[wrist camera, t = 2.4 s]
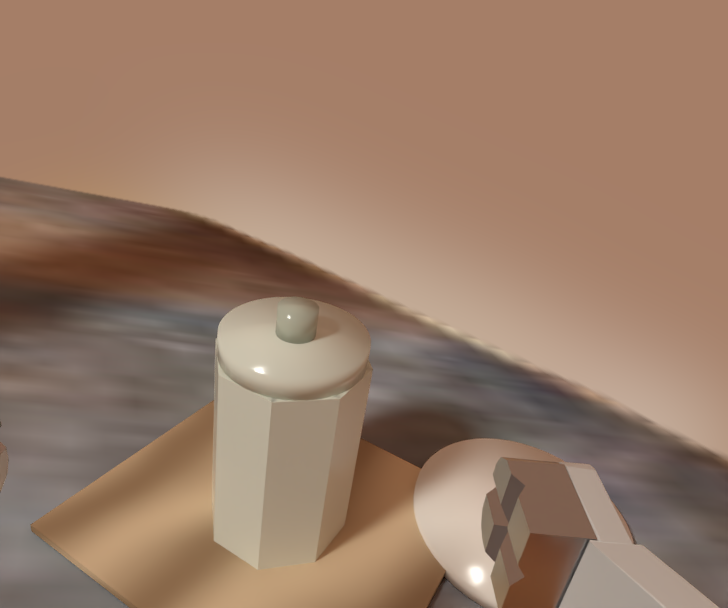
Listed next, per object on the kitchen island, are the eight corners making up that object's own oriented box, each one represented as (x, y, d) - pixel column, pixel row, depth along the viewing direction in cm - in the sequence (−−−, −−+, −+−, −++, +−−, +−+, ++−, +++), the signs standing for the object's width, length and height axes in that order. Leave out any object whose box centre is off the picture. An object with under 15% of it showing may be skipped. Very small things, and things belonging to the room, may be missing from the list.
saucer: (373, 543, 27) (375, 531, 26) (457, 423, 36) (460, 413, 35) (612, 682, 23) (619, 670, 22) (641, 508, 31) (647, 497, 31)
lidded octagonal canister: (184, 521, 26) (182, 306, 21) (267, 449, 31) (283, 260, 26) (291, 592, 24) (319, 371, 18) (362, 502, 28) (401, 306, 23)
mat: (31, 531, 25) (30, 524, 25) (244, 384, 36) (244, 379, 36) (340, 772, 19) (342, 766, 19) (481, 505, 30) (483, 500, 30)
